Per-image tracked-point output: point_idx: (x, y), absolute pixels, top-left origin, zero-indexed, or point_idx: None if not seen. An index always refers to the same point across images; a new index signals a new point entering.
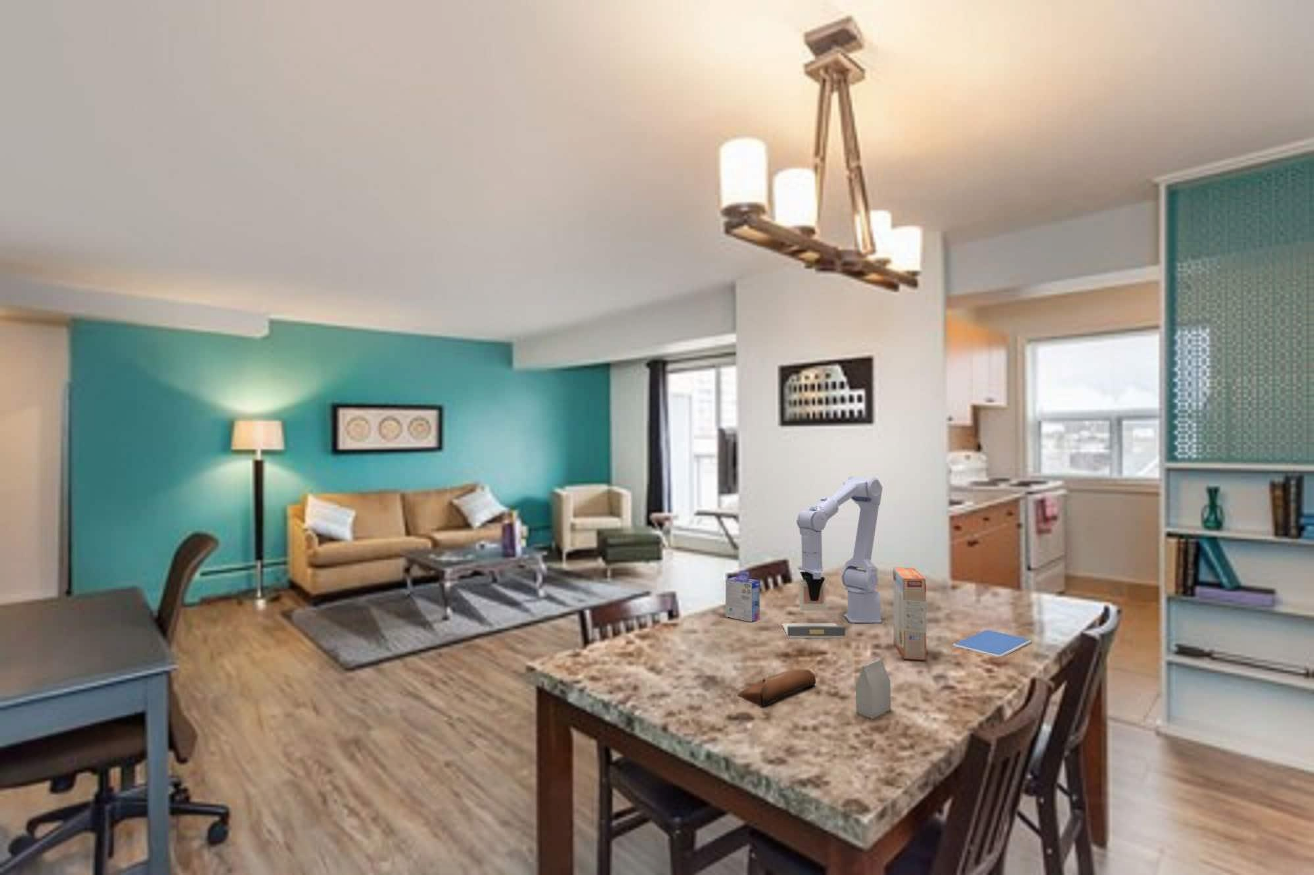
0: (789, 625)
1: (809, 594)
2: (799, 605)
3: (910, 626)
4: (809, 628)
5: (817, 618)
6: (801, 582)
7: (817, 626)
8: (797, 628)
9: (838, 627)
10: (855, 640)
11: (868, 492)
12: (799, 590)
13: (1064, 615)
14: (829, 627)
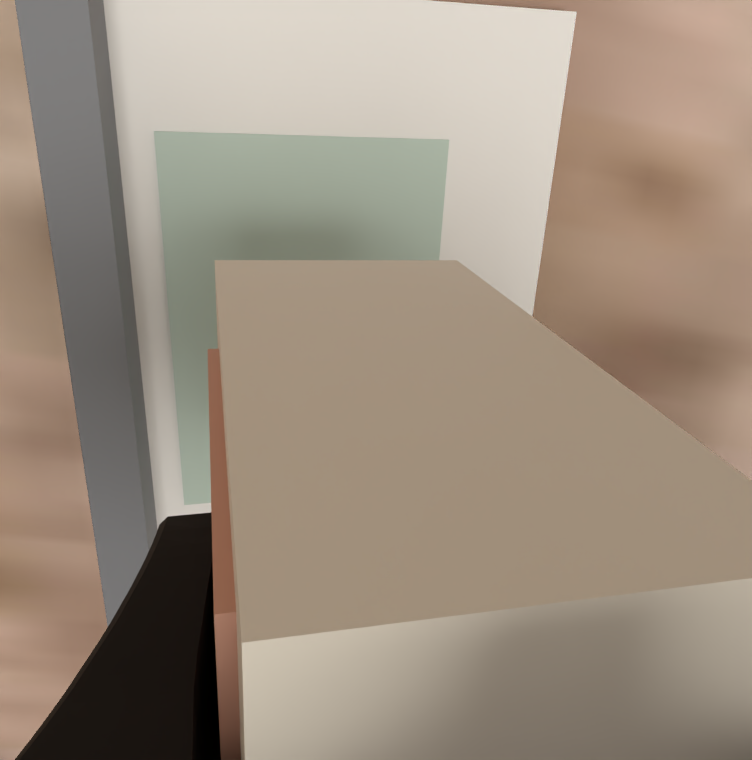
0: (487, 96)
1: (143, 589)
2: (427, 269)
3: None
4: (62, 288)
5: (700, 425)
6: (315, 663)
7: (120, 396)
8: (33, 116)
9: (106, 599)
10: (62, 645)
11: None
12: (512, 387)
13: None
14: (92, 517)
